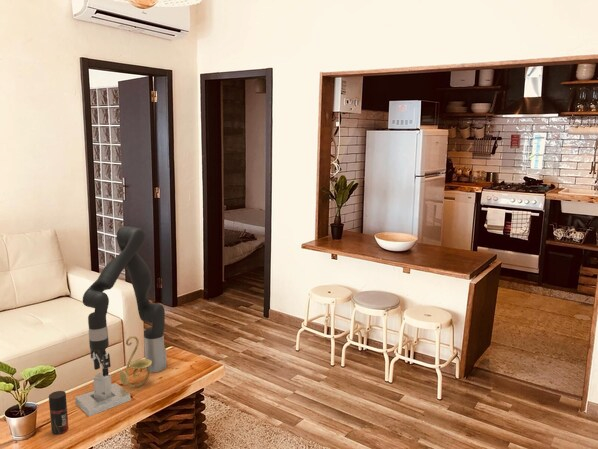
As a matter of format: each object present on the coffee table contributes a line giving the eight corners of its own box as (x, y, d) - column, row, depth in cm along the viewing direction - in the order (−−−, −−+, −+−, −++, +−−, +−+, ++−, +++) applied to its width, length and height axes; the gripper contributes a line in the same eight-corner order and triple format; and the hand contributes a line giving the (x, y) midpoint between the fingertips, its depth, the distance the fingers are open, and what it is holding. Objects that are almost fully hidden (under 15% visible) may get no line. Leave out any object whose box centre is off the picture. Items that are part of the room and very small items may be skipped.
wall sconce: (129, 396, 219) (126, 342, 214) (118, 389, 225) (115, 337, 221) (156, 384, 229) (154, 333, 225) (145, 378, 235) (142, 328, 231)
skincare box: (93, 403, 213) (92, 377, 211) (101, 398, 217) (99, 372, 215) (105, 405, 211) (104, 379, 209) (112, 400, 215) (111, 374, 213)
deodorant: (62, 435, 190) (59, 399, 187) (48, 434, 190) (45, 397, 188) (71, 426, 195) (69, 391, 193) (58, 425, 196) (55, 390, 194)
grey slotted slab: (116, 388, 225) (115, 382, 224) (130, 400, 215) (130, 394, 215) (75, 403, 212) (75, 397, 212) (88, 416, 203) (88, 409, 202)
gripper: (114, 339, 206) (117, 375, 209) (100, 329, 216) (102, 364, 219) (96, 344, 201) (99, 381, 204) (82, 334, 211) (85, 369, 214)
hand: (101, 372), depth 212 cm, fingers open, 8 cm apart
